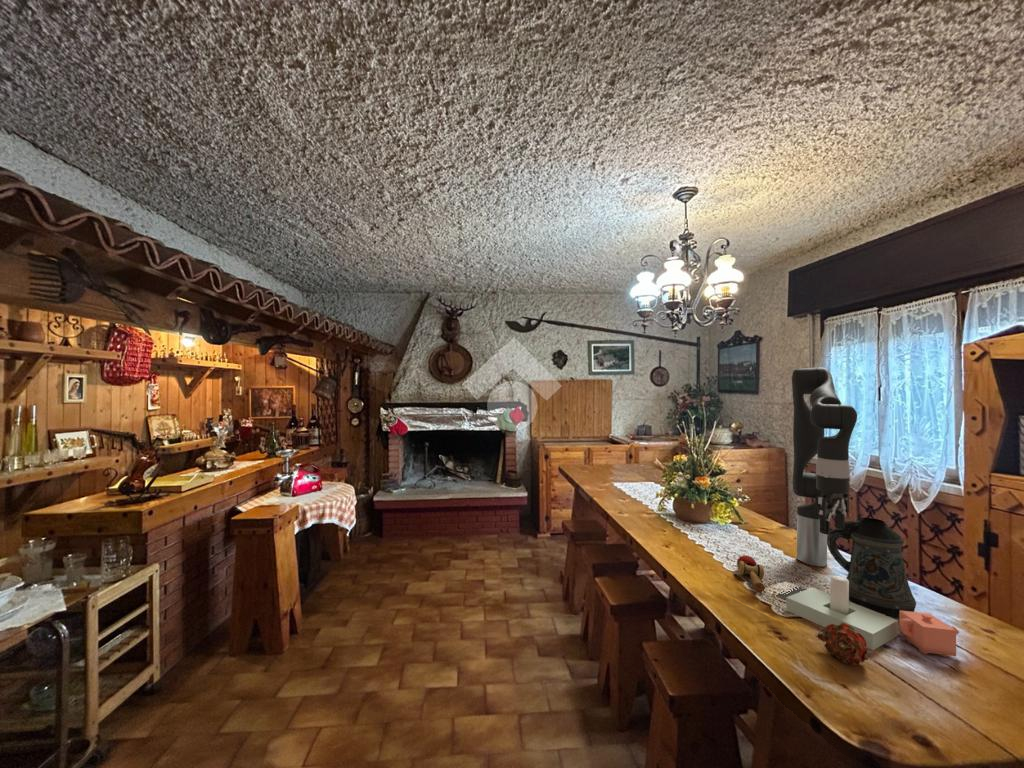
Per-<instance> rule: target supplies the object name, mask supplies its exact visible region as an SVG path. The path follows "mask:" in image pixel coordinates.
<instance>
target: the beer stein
mask: <svg viewBox="0 0 1024 768" xmlns="http://www.w3.org/2000/svg"><path fill="white" fill-rule="evenodd" d="M840 538H841V539H845V540H851V541H852V546H851V553H850V560H849V561H848V560H847V559H846V558H845V557H844V556H843V555H842V553H841V552H840V550H839V548H838V547H837V543H836V542H837V540H838V539H840ZM904 543H905V542H904V539H903V538H902V536H901V535H900V534H899V533H897V532H896V531H895V530H893V529H892V528H891V527H890V526H888V525H887V524H886V523H885V521H884V520H882V519H878V518H873V517H872V518H871V517H862V518H861V520H857V521H850V520H847V521H846V520H845V529H838V528H833V529H830V534H828V535H827V550H828V551H829V553H830V554H831V556H832V557H833V559H834V560H835V561H836V563H838V564H839V565H840V567H841V568H843V569H844V570H845V571H846V572H847V576H846V577H845V578H846V579H848V580H849V602H852V603H854V604H857V605H860V606H862V607H865V608H867V609H870V610H873V611H875V612H878V613H880V614H883V615H886V616H888V617H891V618H893V619H895V618H897V619H899V618H900V610H901V611H910V612H915V610H916V606H917V600H916V598H915V597H914V595H913V593H912V589H911V587H910V583H909V581H908V576H907V573H906V567H905V562H904V559H903V558H904V557H903V553H902V548H903V546H904Z"/></svg>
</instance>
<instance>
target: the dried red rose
mask: <svg viewBox="0 0 1024 768" xmlns="http://www.w3.org/2000/svg"><path fill="white" fill-rule="evenodd" d="M821 632H824V633H820V632H818V633H817V638H818V639H819V640H820V641H823V642H824V643H825V644H824V648H825V649H826V651H827V652H828V653H829V654H831V655H832V656H834V657H836V658H837V659H838V660H839V661H840V662H841V663H845V664H846V665H850V666H851V665H853V666H857V665H860V663H863V662H865V661H869V653H868V650H867V649H868V648H866V644H867V643H866V640H865V638H864V637H863V636H862V635H861V634H860V633H856V632H855V631H854V629H853V628H852V627H851V626H849V625H847V624H845V623H841V624H840V625H834V624H830V625H827V626H826V628H825V627H824V628H823V629H821Z"/></svg>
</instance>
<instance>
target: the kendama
mask: <svg viewBox="0 0 1024 768" xmlns="http://www.w3.org/2000/svg"><path fill="white" fill-rule="evenodd" d="M736 564H737V573H738V575H740V576H744V575H749V577H750V579H751V582H752V585H753V588H754V590H755V591H757V592H759V593H761V592H765V591H764V589H765V587H766V586H765V584H764V583H763V582H762V580H763V579H764V575H765V570H764V569H765V568H764V566H763V564H757V562H756V560H755V559H754V558H753V557H752V556H751V555H750V556H749V555H744V554H743V555H741V556H739V557H738V559H737V561H736Z"/></svg>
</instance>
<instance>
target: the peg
mask: <svg viewBox="0 0 1024 768" xmlns="http://www.w3.org/2000/svg"><path fill="white" fill-rule="evenodd" d="M829 578H830V579H829V583H830V584H829V594H830V609H832V610H834V611H837V612H839V613H842V614H844V615H848V614H849V602H850V600H849V580H848V579H846V578H847V577H843V576H840V575H839V576H838V575H830V577H829Z"/></svg>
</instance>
